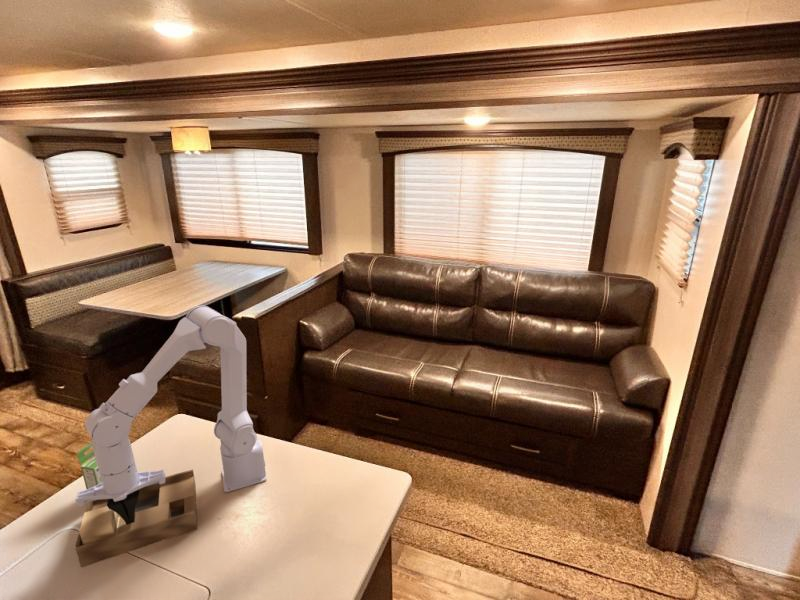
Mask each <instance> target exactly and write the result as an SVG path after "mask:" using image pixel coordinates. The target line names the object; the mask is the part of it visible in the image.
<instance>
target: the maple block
mask: <svg viewBox="0 0 800 600" xmlns="http://www.w3.org/2000/svg"><path fill="white" fill-rule="evenodd" d="M118 520H119V519H118V515H117V513H116V512H115V511H113V510H111V509H109V508H108V507H107V506H106V507H102V508H99V509H95V510H92V511H88V512H85V511H84V514H83V517H82V520H81V521H82V522H81V524H80V528H79V532H78V534H79V533H80V536H81V539H82V543H83V545H85V544H88V543H92V542H95V541H98V540H101V539H105V538H108V537H111V536H114V535H116V531H117V525H118Z"/></svg>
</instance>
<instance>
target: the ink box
mask: <svg viewBox="0 0 800 600" xmlns="http://www.w3.org/2000/svg"><path fill="white" fill-rule="evenodd" d="M92 447H93V441H91V442H90V443H88V444H87V445H86V446H84V447H83V448H81V449H80V450H79V451H77V452H76V454H77V459H78V462H79V466H80V470H81V474H82V477H83V482H84V485H85V488H86V489H85V490H87V489H89V488H92V487H94V486H96V485H98V484H101V483H102V479H101V476H100V472H99V469H98V465H97V461H96V458H95V454H94V448H93V449H92V450H91V451H89V452H88V453H87V451H88V450H89V449H90V448H92ZM86 453H87V454H86ZM85 454H86V455H85Z"/></svg>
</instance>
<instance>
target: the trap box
mask: <svg viewBox="0 0 800 600" xmlns="http://www.w3.org/2000/svg"><path fill="white" fill-rule="evenodd" d="M194 474H195V473H194V469H190V470H185V471H181V472H178V473H174V474H171V475H167V476H165V483H163V484H159V483H156V484H152V485H149V486H145V487H143V488H141V489H140V492H139V498H138V501H137V504H136V507H135V522H134V523H131V524H128V525H127V524H126V523H125V521H124V520H123V519H122V517H121V516H120V515H119V514H117V515H118V519H119V520H118V525H117V531H116V535H114V536H111V537H108V538H105V539H101V540H98V541H95V542H92V543H88V544H85V545H83V543H82V539H81V536H80V533H79V532H78V535H77V540H76V541H75V549H74V550H75V552H76V555H77V558H78V562H79V565H80V568H84V567H86V566H89V565H93V564H96V563H98V562H102V561H104V560H107V559H111V558H114V557H117V556H119V555H122V554H126V553H129V552H133V551H135V550H139V549H141V548H144V547H148V546H151V545H153V544H156V543H161V542H162V541H165V540H170V539H171V538H175V537H178V536H181V535H184V534H186V533H190V532H194V531H196V530H198V519H197V518H198V515H197V514H198V513H197V511H198V510H197V490H196V489H197V488H196V487H197V485H196V480H195V479H196V478H195V475H194ZM107 502H108V501H107V499H99V500H94V501H91V502H87V503H86V505H85V510H84V513H85V512H88V511H92V510H95V509H99V508H102V507H106V506H107Z"/></svg>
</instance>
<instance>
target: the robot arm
mask: <svg viewBox="0 0 800 600" xmlns="http://www.w3.org/2000/svg"><path fill="white" fill-rule="evenodd" d="M246 338H247V337H245V335H244V334H243V333H242V331H241V329H240V328H239V327H238V325H237V322H236V321H234V320H232V319H231V318H229V317H227V316H225V315H222V314H221V313H220V312H218V311H217V310H215V309H213V308H212V307H209V306H207V305H197V306H195V307H193V308H191V309H190V310H189V311H188V312H187V313H186V316H184V317H183V318H181V319H180V320H179V321H178V323H177V325H176V327H175V329H174V330H173V333H172V334H171V335H170V336H169V338H168V339H167V340H166V341H165V342H164V344H163V345H162V347H160V348H159V350H158V351H157V352H156V354H155V355H154V356H153V358H151V360H150V362H149V363H148V364H147V365H146V366H145V367H144V369H143V370H142V371H141V372H136V373H134V374H133V373H132V374H130V375H129V376H128V377H127V379H125V378H123V379H122V380H121V381H120V382H119V383H118V386H119V387H118V388H117V390H115V392H114V393H113V394H112V395H111V396H110V397H109V399H108V400H107V401H106V402H102V403H101V404H100V406H99V407H98V408H96V409H94V410H93V411H91V412H90V413H89V414H88V416H87V418H86V420H85V424H84V425H83V427H84V428H85V429H84V430H86V432H87V433H88V434H89V436H90V438H91V440H92V441H93V446H92V447H93V449H94V454H95V458H96V461H97V465H98V469H99V472H100V476H101V479H102V483H101V484H98V485H96V486H94V487H92V488H89V489H85V490H81V491H79V492H77V494H76V497H75V503H76V505H77V508H80V507H83V506H86V504H87V502H91V501H94V500H99V499H107V501H108V502H107V507H108V508H109V509H111V510H113V511H115V512H116V513H117V514H119V515H120V516H121V517H122V519H123V520H124V521H125V523H126V524H127V525H128V524H131V523H134V522H135V507H136V504H137V501H138V498H139V492H140V489H141V488H143V487H145V486H149V485H152V484H156V483H159V484H163V483H165V477H166V473H165V469H161V470H153V471H138V469H137V466H136V461H135V460H136V459H135V457H134V452H133V448H132V444H131V440H130V437H129V435H130V434H131V428H132V423H133V421H134V419H135V418H136V417H137V416H138V415H139V413H140V412H142V410H143V409H144V408H145V406H146V405H147V404H149V402H150V401H151V400H152V398H153V397H154V396H155V395H156V394H157V392H158V382H159V381H160V380H161V379H162V378H163V377H164V376H165V375H166V374H167V373H168V372H169V371H170V370H171V369H172V368H173V367H174V366H175V364H177V363H178V362H179V361H180V360H181V358H182V357H184V356H185V355H186V354H187V353H188V352H190V351H192V352H193V351H198V350H204V349H207V347H206V345H205V343H206V344H208V345H210V346H215V347H220V382H221V384H220V385H221V387H220V388H221V410H220V411H218V413H217V419H216V423H215V425H214V427H213V433H214V436H215V437H216V438H217V439H219V440H220V445H219V448H220V456H221V462H222V470H221V474H222V483H223V491H224V493H229V492H234V491H237V490H239V489H243V488H246V487H249V486H253V485H256V484H259V483H262V482H265V481H267V475H266V474H267V472H266V460H265V456H264V449H263V445H262V440H261V438H260V439H259V438H257V433H256V432H255V430H254V423H253V420H252V418H251V417H250V415H249V412H248V410H247V406H248V404H247V403H248V402H247V397H248V396H247V395H248V394H247V380H248V379H247V378H248V377H247V339H246ZM92 441H91V442H92Z"/></svg>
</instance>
